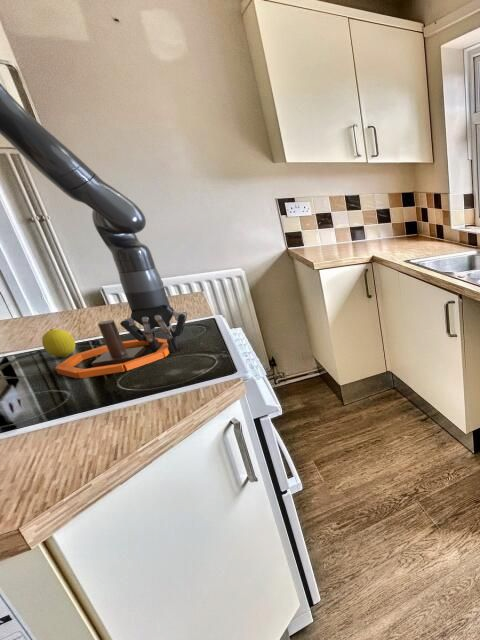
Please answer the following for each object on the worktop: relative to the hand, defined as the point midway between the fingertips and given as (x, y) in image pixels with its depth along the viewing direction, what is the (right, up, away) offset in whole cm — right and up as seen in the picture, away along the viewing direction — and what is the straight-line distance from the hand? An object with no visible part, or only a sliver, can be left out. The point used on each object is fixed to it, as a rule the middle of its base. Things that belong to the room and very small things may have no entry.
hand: (166, 352), depth 109 cm
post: (-9, -2, -3) cm, 10 cm away
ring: (-9, -2, -3) cm, 10 cm away
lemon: (-25, -1, -1) cm, 25 cm away
